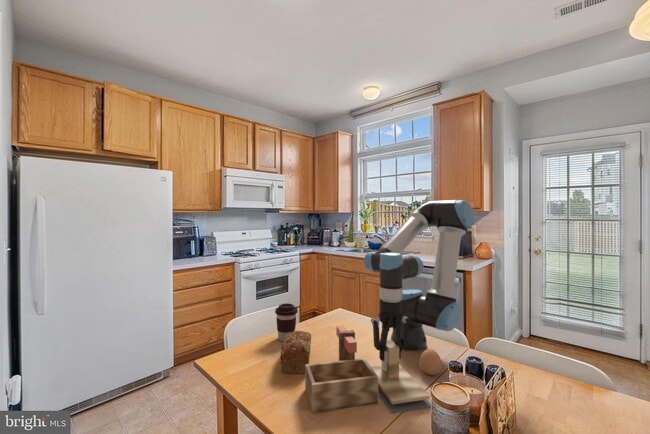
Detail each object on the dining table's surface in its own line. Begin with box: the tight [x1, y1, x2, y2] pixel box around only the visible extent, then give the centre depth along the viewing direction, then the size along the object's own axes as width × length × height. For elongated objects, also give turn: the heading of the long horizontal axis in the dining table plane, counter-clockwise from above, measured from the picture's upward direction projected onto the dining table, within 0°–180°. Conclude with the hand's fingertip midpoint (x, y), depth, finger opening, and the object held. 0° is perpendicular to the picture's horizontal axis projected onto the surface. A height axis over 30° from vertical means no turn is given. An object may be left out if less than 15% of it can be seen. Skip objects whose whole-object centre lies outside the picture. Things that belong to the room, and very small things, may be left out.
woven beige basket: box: [304, 329, 379, 414], centre depth 98 cm, size 20×22×14 cm
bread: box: [279, 330, 312, 375], centre depth 115 cm, size 19×11×10 cm, turn 179°
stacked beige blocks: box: [370, 339, 430, 404], centre depth 98 cm, size 20×12×11 cm, turn 13°
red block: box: [335, 324, 358, 354], centre depth 110 cm, size 3×16×4 cm, turn 13°
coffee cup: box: [274, 303, 298, 342], centre depth 137 cm, size 10×10×15 cm
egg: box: [419, 348, 443, 376], centre depth 107 cm, size 7×7×8 cm
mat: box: [378, 386, 432, 414], centre depth 98 cm, size 13×22×1 cm, turn 13°
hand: (390, 368), depth 102 cm, fingers closed on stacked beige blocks, 3 cm apart
